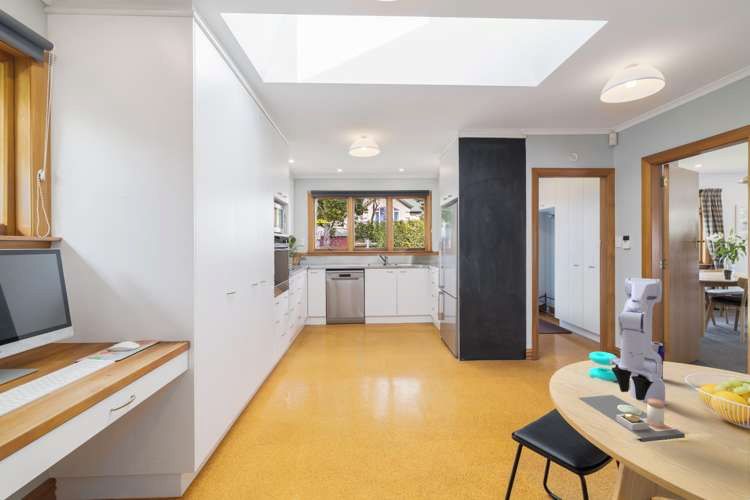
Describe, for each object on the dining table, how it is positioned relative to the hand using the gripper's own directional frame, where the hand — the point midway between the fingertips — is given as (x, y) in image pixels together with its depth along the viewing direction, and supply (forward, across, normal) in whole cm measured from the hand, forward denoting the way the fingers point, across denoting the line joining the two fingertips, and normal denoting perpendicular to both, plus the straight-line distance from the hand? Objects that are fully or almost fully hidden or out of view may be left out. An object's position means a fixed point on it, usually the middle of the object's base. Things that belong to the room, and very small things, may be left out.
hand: (632, 395), depth 102 cm
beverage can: (+10, -31, +42) cm, 53 cm away
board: (+10, -6, +4) cm, 12 cm away
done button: (+8, 0, 0) cm, 8 cm away
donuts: (+10, -35, +22) cm, 42 cm away
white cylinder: (+9, +1, +7) cm, 11 cm away
